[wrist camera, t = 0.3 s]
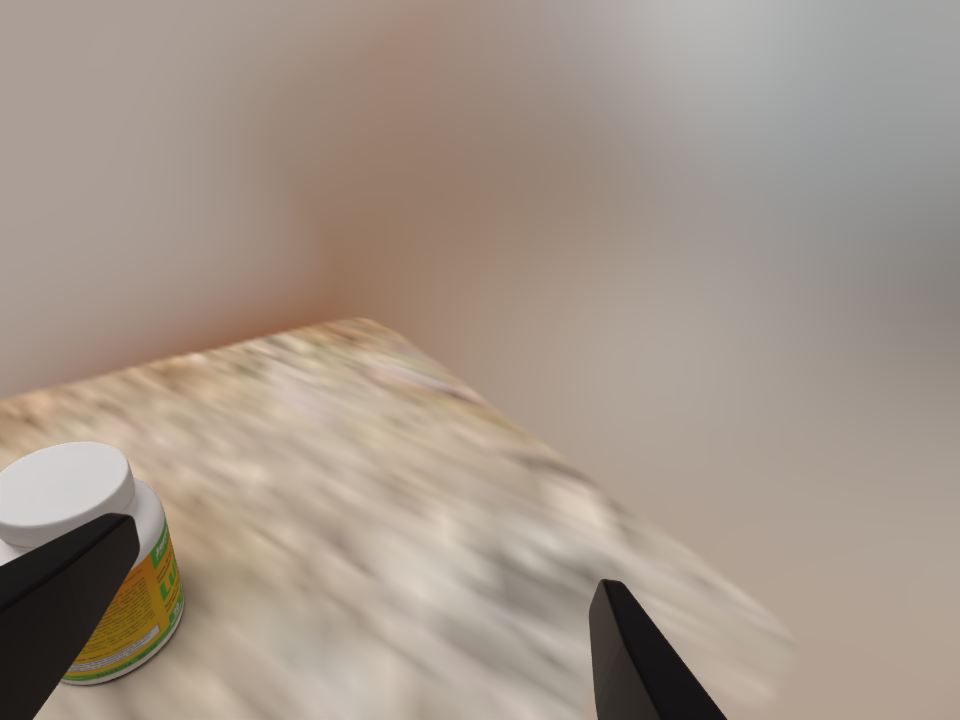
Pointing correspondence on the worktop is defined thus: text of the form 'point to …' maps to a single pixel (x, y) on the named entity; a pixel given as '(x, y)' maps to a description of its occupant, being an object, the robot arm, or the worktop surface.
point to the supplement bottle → (75, 501)
